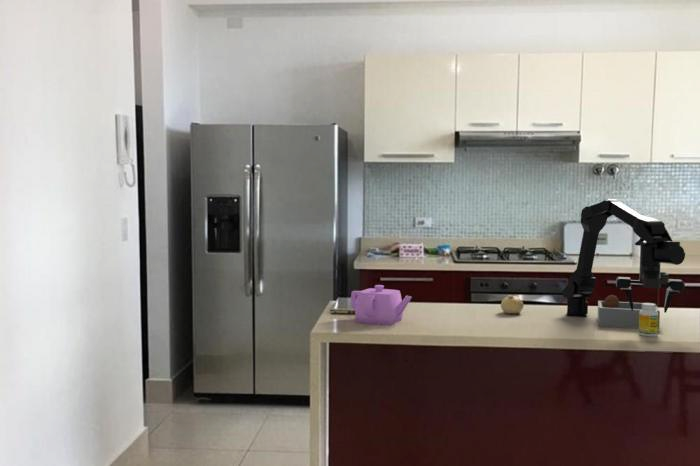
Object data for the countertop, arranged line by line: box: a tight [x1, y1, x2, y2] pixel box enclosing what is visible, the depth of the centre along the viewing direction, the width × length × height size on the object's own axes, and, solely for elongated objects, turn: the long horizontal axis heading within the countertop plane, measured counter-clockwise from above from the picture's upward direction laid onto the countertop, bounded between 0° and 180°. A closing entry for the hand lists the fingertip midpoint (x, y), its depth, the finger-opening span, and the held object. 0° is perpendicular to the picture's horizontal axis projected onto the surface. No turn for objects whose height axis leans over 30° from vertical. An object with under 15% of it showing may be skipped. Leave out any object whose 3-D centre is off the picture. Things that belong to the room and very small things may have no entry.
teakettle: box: [349, 284, 412, 326], centre depth 215 cm, size 17×17×12 cm
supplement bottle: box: [638, 302, 659, 337], centre depth 193 cm, size 5×5×10 cm
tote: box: [597, 300, 661, 331], centre depth 210 cm, size 18×14×6 cm
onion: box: [500, 294, 524, 315], centre depth 228 cm, size 8×8×7 cm
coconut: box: [602, 294, 620, 308], centre depth 211 cm, size 5×5×8 cm
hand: (648, 311), depth 193 cm, fingers open, 9 cm apart
